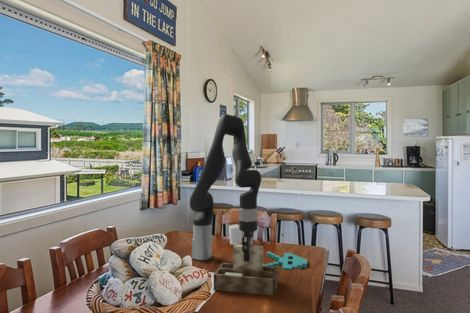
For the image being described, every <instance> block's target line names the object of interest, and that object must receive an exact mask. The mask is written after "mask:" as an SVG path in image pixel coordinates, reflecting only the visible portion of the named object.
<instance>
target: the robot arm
mask: <svg viewBox="0 0 470 313" xmlns="http://www.w3.org/2000/svg"><path fill="white" fill-rule="evenodd" d="M244 125H245V124H244V122H243V120H242V118H241V117H238V116H235V115H231V114H227V113H223V114H222V115H220V117H219V119H218V121H217V125H216V127H215V128H216V129H215V131H214V136H213V140H212V142H211V145H210V148H209V151H208V154H207V156H206V159H205V162H204V165H203V168H202V170H201V172H200V176H199V179H198V181H197V183H196V185H195V187H194V189H193V191H192V193H191V196H190V198H189V207H190V209H191V211H193V212H195V213H197V214H196V216H194V218H193V219H192V221H193V222H192V223H193V224H192V232H193V234H192V240H191V258H192V259H194V260H197V261H207V260H210V259H212V253H213V252H212V220H213V216H214V198H213V196H212V193H210V192H209V190H210V189H211V187H212V186H213V185H214V184H215V183H216V181H217V180H218V179H219V178H220V176H221V174H222V172H223V170H224V167H225V165H226V155H225V151H224V147H223V146H224V145H223V144H224V143H223V142H224V138H225V135H226V136H231V137H234V138H235V144H234V146H233V147H232V148H233V149H232V154H231V155H232V158H233V159H232V160H233V162H234V165H235V178H234V179H235V180H234V181H235V184H236V186H237V187H239V188H242V189H243V188H249V190H248V191H246V192H243V193H241V194H240V195H239V209H238V210H239V211H238V221H239V222H238V225H239V230H240V231H242V233H243V234H242V243H241V245H242V252H244V261H245V262H249V252H250V247H251V245H254V242H255V238H254V237H255V232H256V231H257V230H258V208H257V207H258V206H257V205H258V199H257V198H258V193H259V190H260V188H261V187H260V186H261V182H262V174H261V173H260V171H259V170H257V169H250V168H251V167H252V164H253V163H252V158H251V157H250V154H249V150H248V147H247V141H246V131H245V126H244ZM245 247H247V249H245Z"/></svg>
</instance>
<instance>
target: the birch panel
mask: <svg viewBox="0 0 470 313" xmlns="http://www.w3.org/2000/svg"><path fill="white" fill-rule="evenodd" d="M245 249H247V247H245ZM232 264H233V269H244V270H257V271H263V264H264V245H254V244H253V245H251V247H250V252H249V262H245V261H244V252H242V244H234V245H232Z"/></svg>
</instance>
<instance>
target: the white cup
mask: <svg viewBox="0 0 470 313" xmlns="http://www.w3.org/2000/svg"><path fill="white" fill-rule="evenodd" d="M228 236H229V244H230V245H232V246H234V244H240V245H242V238H243V231H240V230H239V224H230V225H229V226H228Z"/></svg>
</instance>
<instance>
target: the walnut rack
mask: <svg viewBox="0 0 470 313" xmlns="http://www.w3.org/2000/svg"><path fill="white" fill-rule="evenodd" d="M226 272H229V273H242V274H243V276H236V275H224V274H225V273H226ZM278 283H279V266H273V267H272V266H263V271H257V270H244V269H233V262H232V263H230V262H221V264H219V266H218V268H217V269H216V270H215V272H214V274H213V290H214V291H220V292H221V291H222V292H232V293H233V292H234V293H242V294H243V293H244V294H255V295H267V296H276V294H277V288H278V285H279V284H278Z"/></svg>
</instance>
